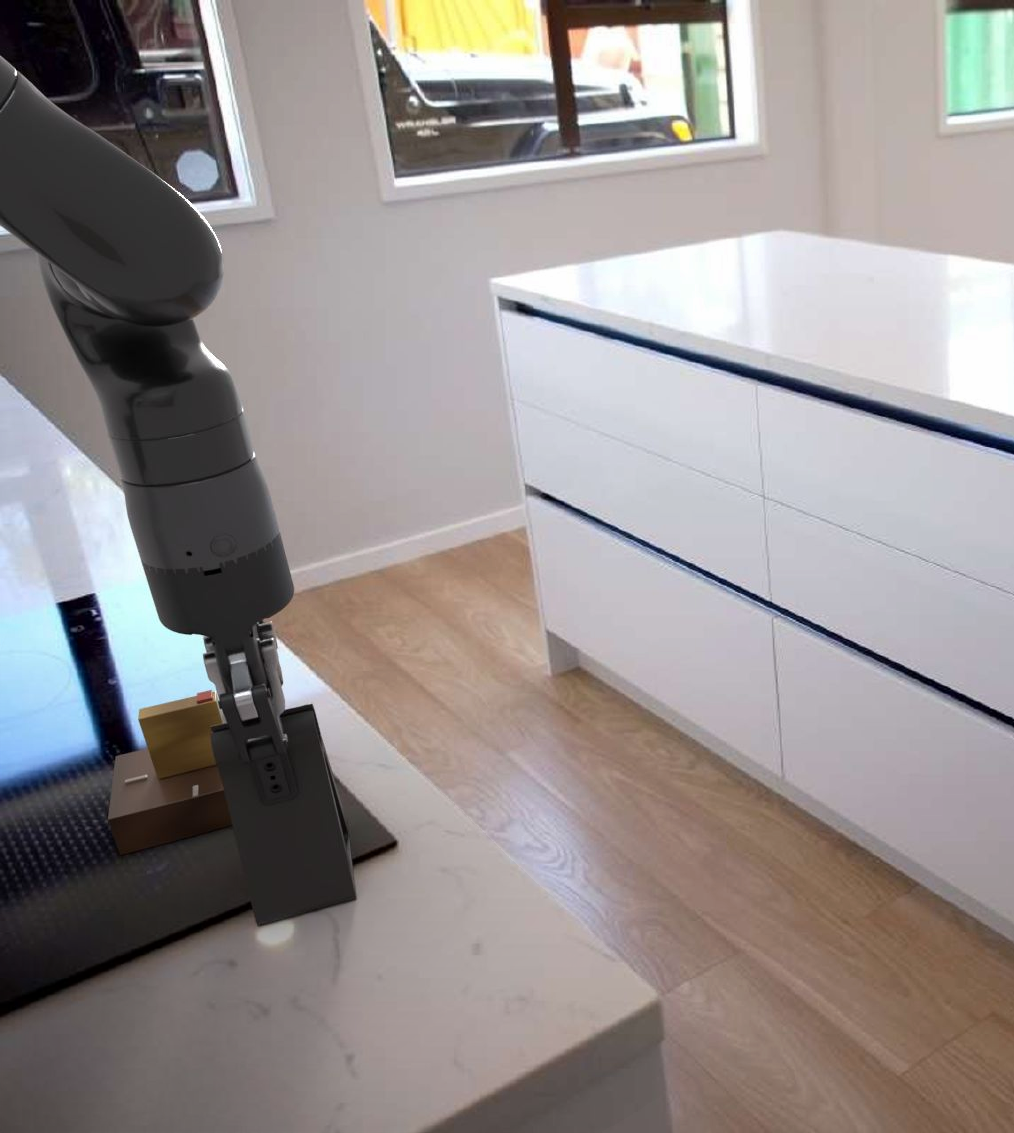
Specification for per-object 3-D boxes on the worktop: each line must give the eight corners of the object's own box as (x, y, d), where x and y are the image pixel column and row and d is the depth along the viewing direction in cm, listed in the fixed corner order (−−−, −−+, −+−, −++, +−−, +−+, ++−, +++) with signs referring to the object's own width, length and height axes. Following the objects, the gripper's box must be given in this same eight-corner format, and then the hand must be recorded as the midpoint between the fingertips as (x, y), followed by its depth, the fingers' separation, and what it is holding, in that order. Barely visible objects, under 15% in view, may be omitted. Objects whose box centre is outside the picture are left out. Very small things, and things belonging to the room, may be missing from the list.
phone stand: (357, 900, 83) (315, 740, 78) (256, 928, 81) (206, 766, 76) (349, 825, 90) (310, 675, 85) (257, 849, 88) (212, 697, 83)
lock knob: (157, 779, 91) (136, 716, 89) (158, 768, 93) (137, 705, 91) (233, 760, 93) (215, 697, 91) (233, 750, 95) (215, 687, 92)
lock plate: (120, 856, 88) (106, 818, 87) (127, 789, 96) (115, 753, 95) (290, 810, 92) (280, 773, 91) (284, 749, 100) (274, 714, 99)
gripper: (144, 511, 80) (216, 748, 87) (131, 597, 68) (216, 862, 75) (273, 488, 83) (333, 719, 90) (282, 566, 71) (350, 825, 78)
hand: (279, 783), depth 82 cm, fingers closed on phone stand, 3 cm apart
